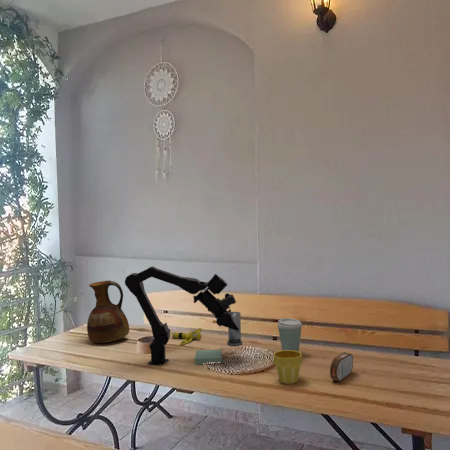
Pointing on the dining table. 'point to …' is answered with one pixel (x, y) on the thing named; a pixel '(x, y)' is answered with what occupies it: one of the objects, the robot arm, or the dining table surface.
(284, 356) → the plant pot
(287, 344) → the disposable coffee cup
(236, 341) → the cylinder
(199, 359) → the green square slab
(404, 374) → the dining table surface
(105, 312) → the ceramic pitcher
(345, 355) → the tin
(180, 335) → the sprinkler
